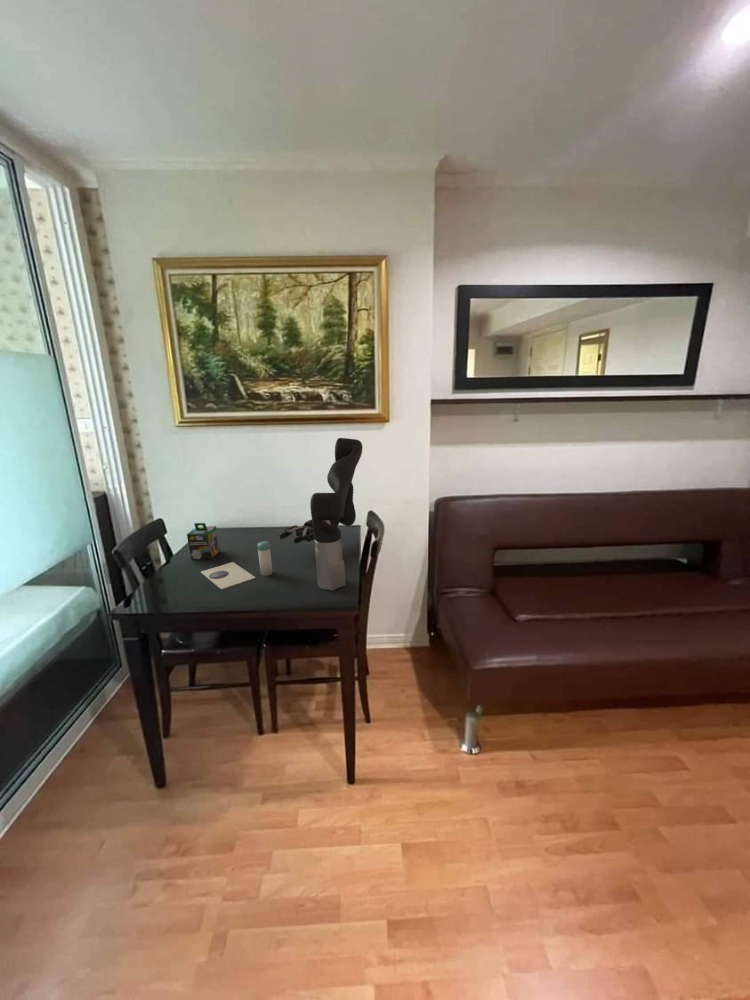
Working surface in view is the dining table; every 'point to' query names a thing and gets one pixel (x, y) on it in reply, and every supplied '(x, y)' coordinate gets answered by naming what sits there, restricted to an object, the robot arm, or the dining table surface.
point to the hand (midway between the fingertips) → (287, 538)
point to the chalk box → (203, 542)
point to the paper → (227, 575)
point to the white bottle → (264, 558)
